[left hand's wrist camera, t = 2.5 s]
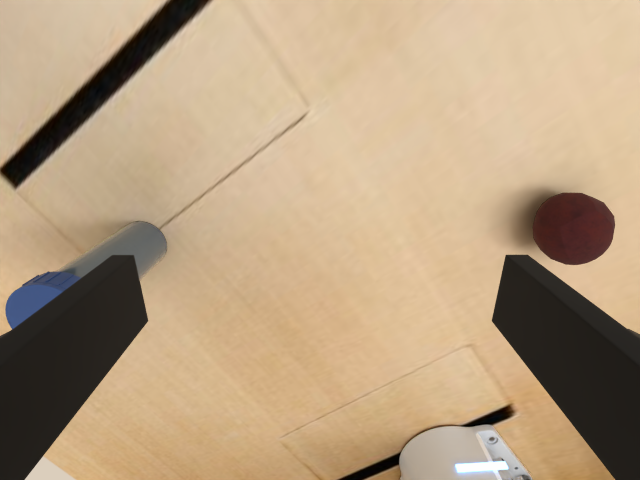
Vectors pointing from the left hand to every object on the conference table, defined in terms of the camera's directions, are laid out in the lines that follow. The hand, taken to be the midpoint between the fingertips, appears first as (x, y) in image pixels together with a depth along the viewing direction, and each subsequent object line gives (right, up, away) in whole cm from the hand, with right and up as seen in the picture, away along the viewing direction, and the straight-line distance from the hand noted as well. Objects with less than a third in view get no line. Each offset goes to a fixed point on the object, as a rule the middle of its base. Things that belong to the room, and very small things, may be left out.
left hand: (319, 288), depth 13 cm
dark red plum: (+27, +4, +28) cm, 39 cm away
